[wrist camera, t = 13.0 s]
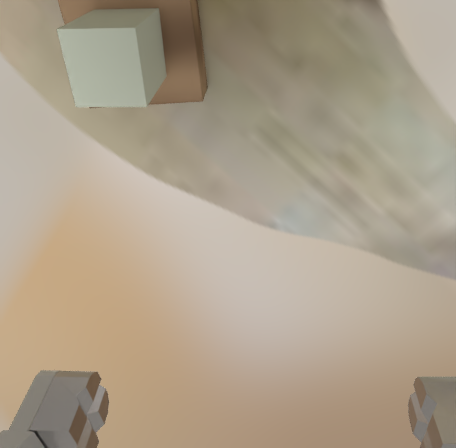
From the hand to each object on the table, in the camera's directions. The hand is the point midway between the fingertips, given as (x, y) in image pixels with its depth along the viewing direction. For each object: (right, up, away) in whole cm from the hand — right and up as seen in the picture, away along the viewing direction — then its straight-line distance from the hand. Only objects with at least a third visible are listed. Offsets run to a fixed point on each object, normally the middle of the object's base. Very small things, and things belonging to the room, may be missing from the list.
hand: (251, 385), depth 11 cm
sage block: (-8, +18, +22) cm, 30 cm away
